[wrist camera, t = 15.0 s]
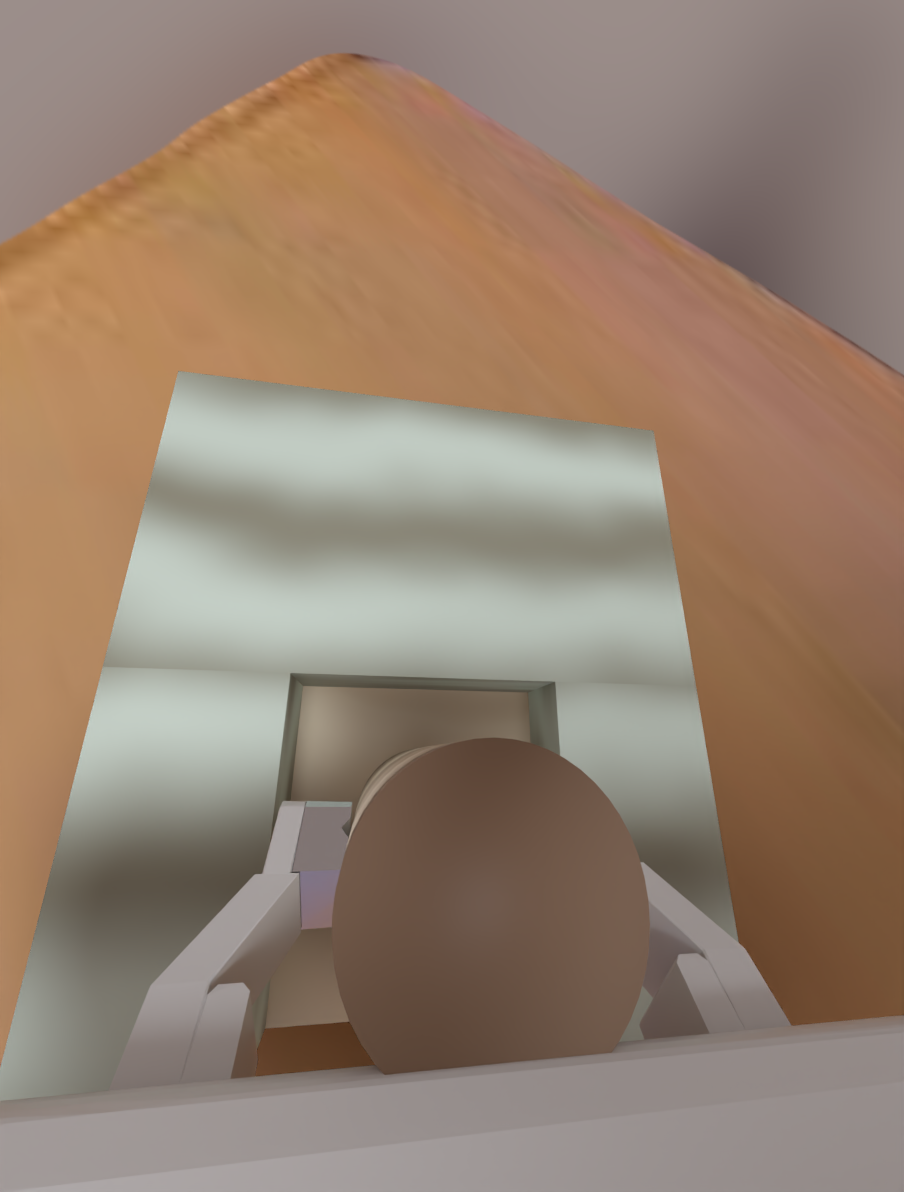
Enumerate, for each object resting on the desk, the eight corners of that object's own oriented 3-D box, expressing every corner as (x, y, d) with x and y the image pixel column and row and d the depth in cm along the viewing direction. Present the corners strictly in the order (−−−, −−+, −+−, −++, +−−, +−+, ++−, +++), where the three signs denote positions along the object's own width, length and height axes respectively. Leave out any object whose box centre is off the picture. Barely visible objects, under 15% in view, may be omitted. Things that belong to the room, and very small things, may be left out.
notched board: (212, 440, 22) (178, 371, 18) (608, 482, 25) (653, 430, 21) (89, 1022, 15) (-14, 1120, 11) (669, 978, 18) (755, 1042, 14)
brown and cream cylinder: (484, 748, 17) (630, 739, 7) (486, 889, 15) (672, 1101, 6) (360, 747, 16) (346, 735, 7) (350, 894, 14) (314, 1144, 5)
